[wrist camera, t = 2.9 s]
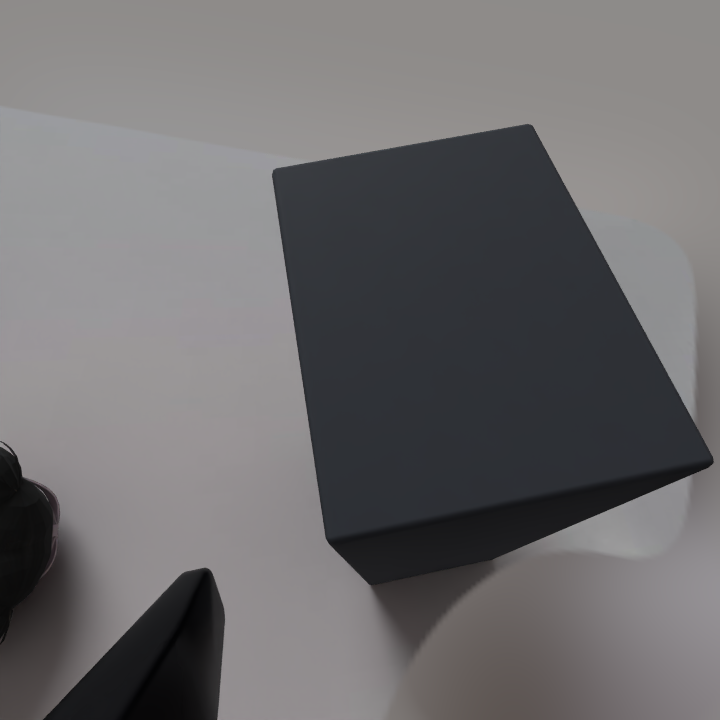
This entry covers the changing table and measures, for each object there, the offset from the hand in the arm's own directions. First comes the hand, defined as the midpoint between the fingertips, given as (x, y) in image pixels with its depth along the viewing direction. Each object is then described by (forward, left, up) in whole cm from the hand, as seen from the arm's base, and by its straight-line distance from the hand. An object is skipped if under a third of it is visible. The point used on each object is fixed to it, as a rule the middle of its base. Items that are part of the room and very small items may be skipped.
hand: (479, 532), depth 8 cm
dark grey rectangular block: (+3, +1, -10) cm, 10 cm away
